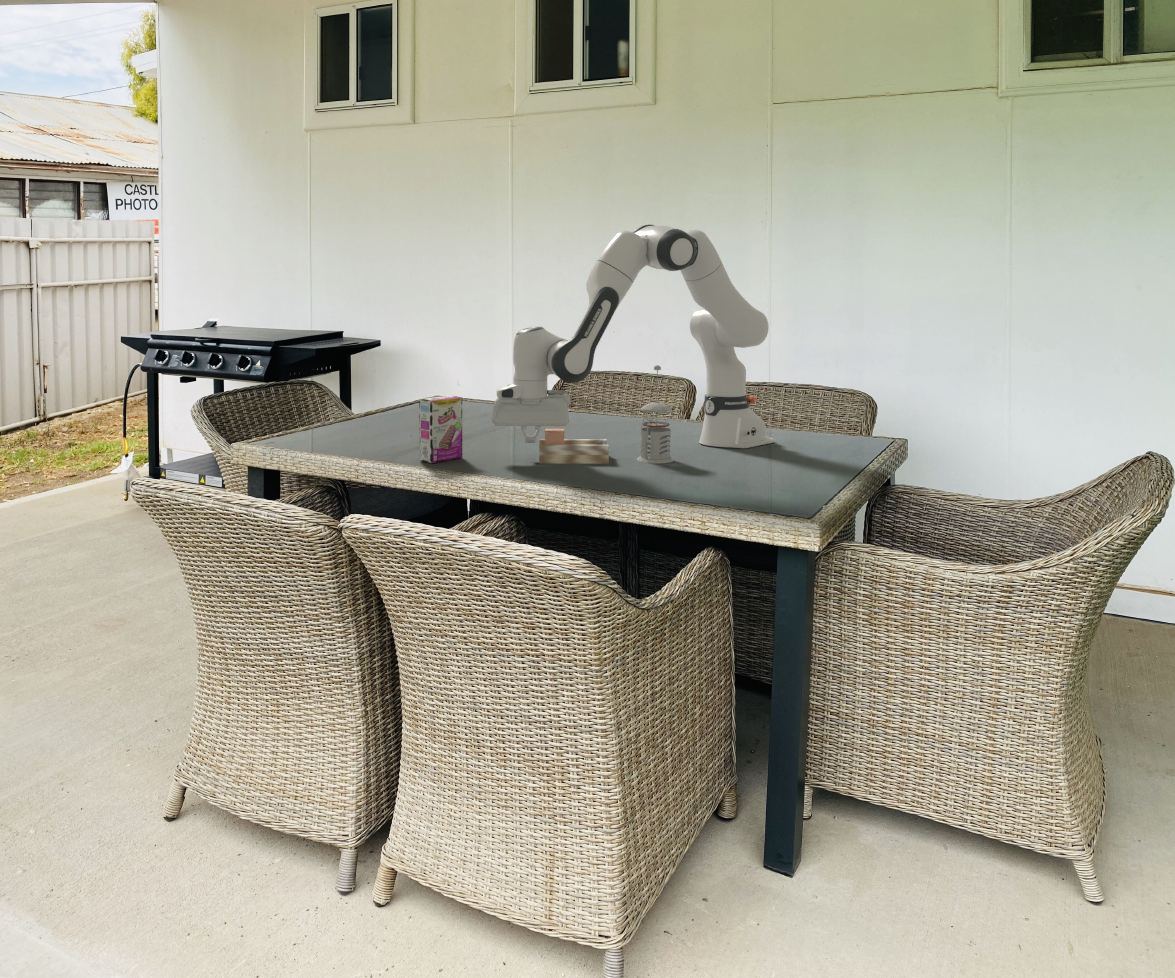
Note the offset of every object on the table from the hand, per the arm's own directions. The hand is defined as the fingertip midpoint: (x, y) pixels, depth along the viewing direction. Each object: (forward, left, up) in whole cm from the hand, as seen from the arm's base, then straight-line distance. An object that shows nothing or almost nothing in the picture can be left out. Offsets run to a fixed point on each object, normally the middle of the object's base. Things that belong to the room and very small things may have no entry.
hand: (530, 442), depth 257 cm
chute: (-9, +6, -4) cm, 12 cm away
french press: (-27, +18, -5) cm, 33 cm away
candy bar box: (+21, -11, -5) cm, 24 cm away
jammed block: (-5, +3, -2) cm, 7 cm away
